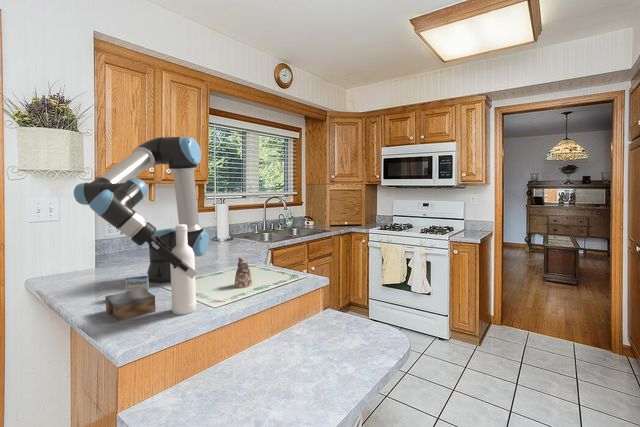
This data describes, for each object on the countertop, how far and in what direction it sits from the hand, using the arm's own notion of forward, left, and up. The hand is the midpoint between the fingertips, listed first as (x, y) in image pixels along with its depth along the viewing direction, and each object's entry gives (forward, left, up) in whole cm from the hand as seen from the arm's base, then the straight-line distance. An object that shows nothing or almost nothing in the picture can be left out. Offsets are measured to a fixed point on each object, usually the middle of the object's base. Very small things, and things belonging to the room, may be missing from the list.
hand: (193, 272), depth 118 cm
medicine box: (+9, -29, -13) cm, 33 cm away
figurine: (-28, -12, -13) cm, 33 cm away
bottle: (+3, -1, -13) cm, 14 cm away
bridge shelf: (+16, -14, -13) cm, 25 cm away
